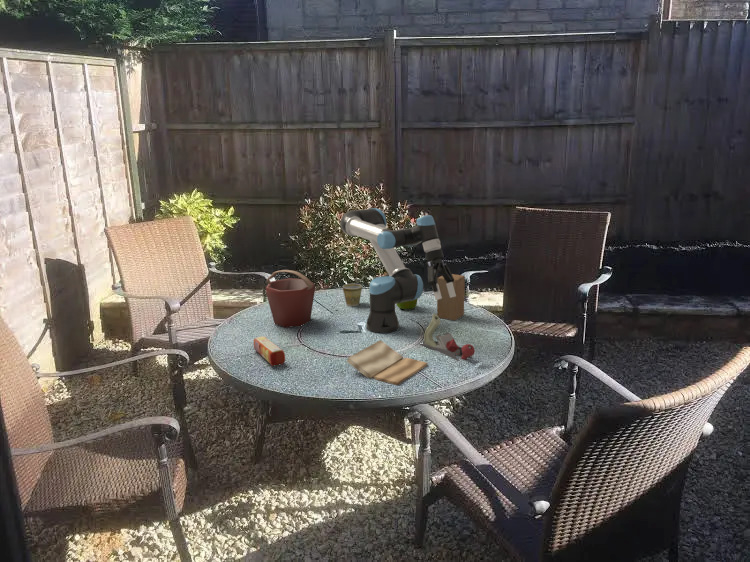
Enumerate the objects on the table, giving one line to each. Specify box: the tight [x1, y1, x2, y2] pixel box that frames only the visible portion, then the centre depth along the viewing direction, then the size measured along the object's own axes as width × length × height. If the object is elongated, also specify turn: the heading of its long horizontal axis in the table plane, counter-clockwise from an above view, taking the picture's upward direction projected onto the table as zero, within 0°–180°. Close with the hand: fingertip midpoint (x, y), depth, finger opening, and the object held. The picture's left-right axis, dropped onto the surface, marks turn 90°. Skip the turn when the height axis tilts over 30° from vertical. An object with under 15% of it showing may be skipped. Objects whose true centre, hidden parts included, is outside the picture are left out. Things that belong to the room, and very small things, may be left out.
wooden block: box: [436, 273, 466, 321], centre depth 304 cm, size 10×10×20 cm
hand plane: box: [418, 313, 476, 362], centre depth 259 cm, size 7×31×15 cm, turn 33°
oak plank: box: [374, 357, 428, 386], centre depth 241 cm, size 10×22×2 cm, turn 146°
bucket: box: [265, 269, 316, 328], centre depth 300 cm, size 24×22×25 cm
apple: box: [396, 299, 418, 311], centre depth 319 cm, size 11×11×11 cm
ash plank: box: [346, 339, 404, 379], centre depth 246 cm, size 13×22×2 cm, turn 146°
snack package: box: [253, 335, 286, 367], centre depth 259 cm, size 21×7×7 cm, turn 30°
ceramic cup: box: [342, 283, 363, 307], centre depth 327 cm, size 13×10×10 cm
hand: (446, 298), depth 271 cm, fingers open, 13 cm apart
